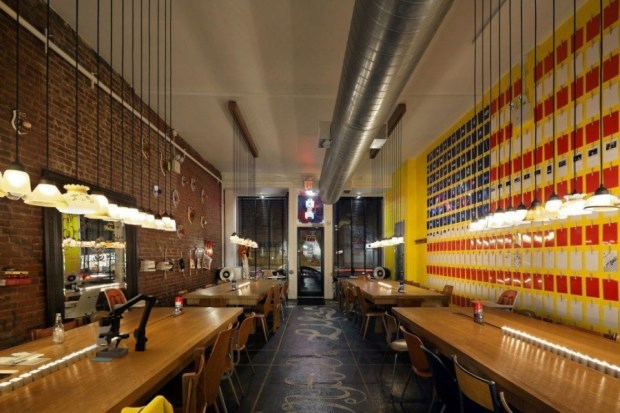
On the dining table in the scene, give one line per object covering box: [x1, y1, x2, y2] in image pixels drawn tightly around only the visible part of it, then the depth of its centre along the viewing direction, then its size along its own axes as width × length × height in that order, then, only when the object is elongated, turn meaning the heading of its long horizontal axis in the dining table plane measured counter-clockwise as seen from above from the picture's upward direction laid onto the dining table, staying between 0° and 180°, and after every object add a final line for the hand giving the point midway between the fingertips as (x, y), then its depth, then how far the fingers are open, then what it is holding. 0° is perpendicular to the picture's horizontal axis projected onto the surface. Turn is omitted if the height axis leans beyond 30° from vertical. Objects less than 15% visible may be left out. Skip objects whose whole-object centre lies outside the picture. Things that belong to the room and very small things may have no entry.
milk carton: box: [95, 324, 111, 345], centre depth 293 cm, size 7×7×19 cm
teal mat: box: [89, 356, 114, 363], centre depth 255 cm, size 12×7×1 cm, turn 93°
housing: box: [95, 346, 130, 359], centre depth 268 cm, size 16×14×3 cm
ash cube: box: [108, 342, 116, 350], centre depth 268 cm, size 4×4×4 cm
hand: (113, 348), depth 268 cm, fingers closed on ash cube, 4 cm apart
